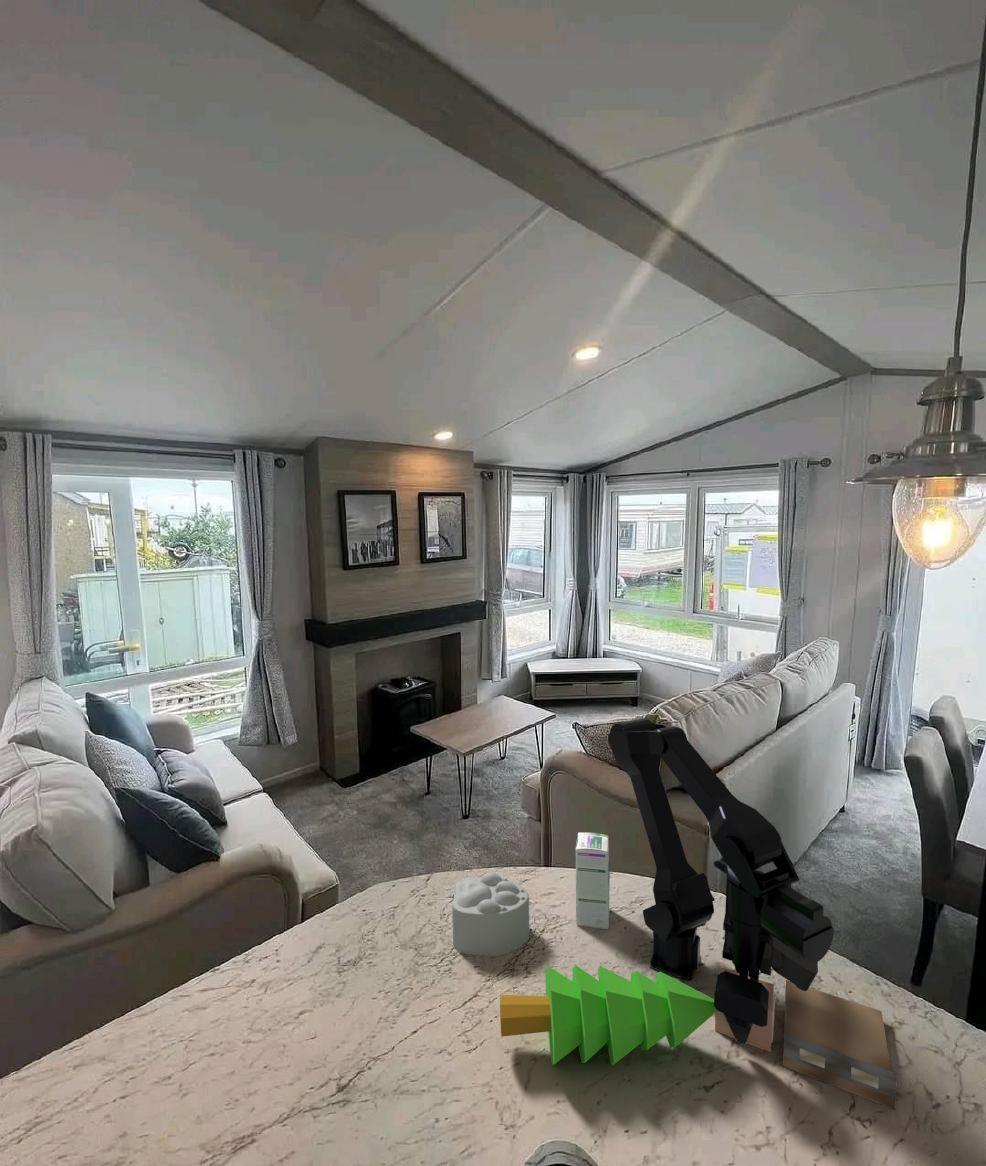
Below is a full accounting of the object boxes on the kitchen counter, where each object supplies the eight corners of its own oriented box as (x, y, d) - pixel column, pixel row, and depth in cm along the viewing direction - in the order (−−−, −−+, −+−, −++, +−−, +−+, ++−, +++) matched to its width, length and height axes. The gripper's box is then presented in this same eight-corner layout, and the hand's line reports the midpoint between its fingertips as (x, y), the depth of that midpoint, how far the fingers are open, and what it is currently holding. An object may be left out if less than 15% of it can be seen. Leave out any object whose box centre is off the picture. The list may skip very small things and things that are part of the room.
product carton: (714, 1031, 80) (716, 991, 79) (719, 1004, 84) (720, 967, 83) (772, 1053, 76) (774, 1011, 76) (773, 1024, 81) (775, 985, 80)
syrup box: (609, 930, 100) (610, 851, 98) (575, 926, 101) (575, 847, 99) (609, 909, 105) (610, 833, 104) (576, 905, 106) (577, 830, 105)
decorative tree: (497, 948, 79) (715, 938, 79) (501, 993, 84) (704, 984, 84) (500, 1046, 69) (749, 1035, 69) (503, 1090, 74) (735, 1080, 74)
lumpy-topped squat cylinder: (457, 912, 105) (456, 867, 104) (528, 914, 104) (528, 869, 103) (450, 954, 94) (449, 905, 94) (529, 956, 94) (529, 907, 93)
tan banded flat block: (782, 1067, 74) (784, 1039, 74) (785, 989, 87) (786, 964, 86) (895, 1111, 68) (897, 1080, 68) (880, 1020, 81) (882, 994, 81)
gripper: (816, 981, 67) (810, 1102, 68) (813, 890, 83) (809, 990, 84) (714, 948, 72) (711, 1062, 73) (731, 869, 88) (728, 964, 90)
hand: (744, 1016), depth 80 cm, fingers open, 9 cm apart
